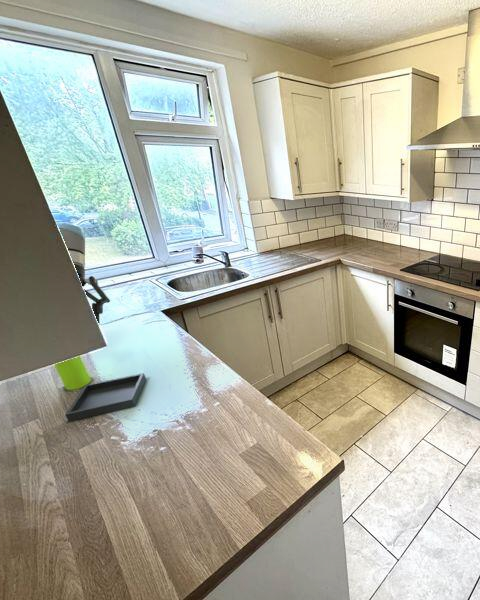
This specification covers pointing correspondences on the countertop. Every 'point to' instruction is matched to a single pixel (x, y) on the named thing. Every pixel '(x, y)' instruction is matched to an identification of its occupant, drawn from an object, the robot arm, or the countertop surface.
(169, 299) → the countertop surface
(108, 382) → the tray
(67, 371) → the soap dispenser
